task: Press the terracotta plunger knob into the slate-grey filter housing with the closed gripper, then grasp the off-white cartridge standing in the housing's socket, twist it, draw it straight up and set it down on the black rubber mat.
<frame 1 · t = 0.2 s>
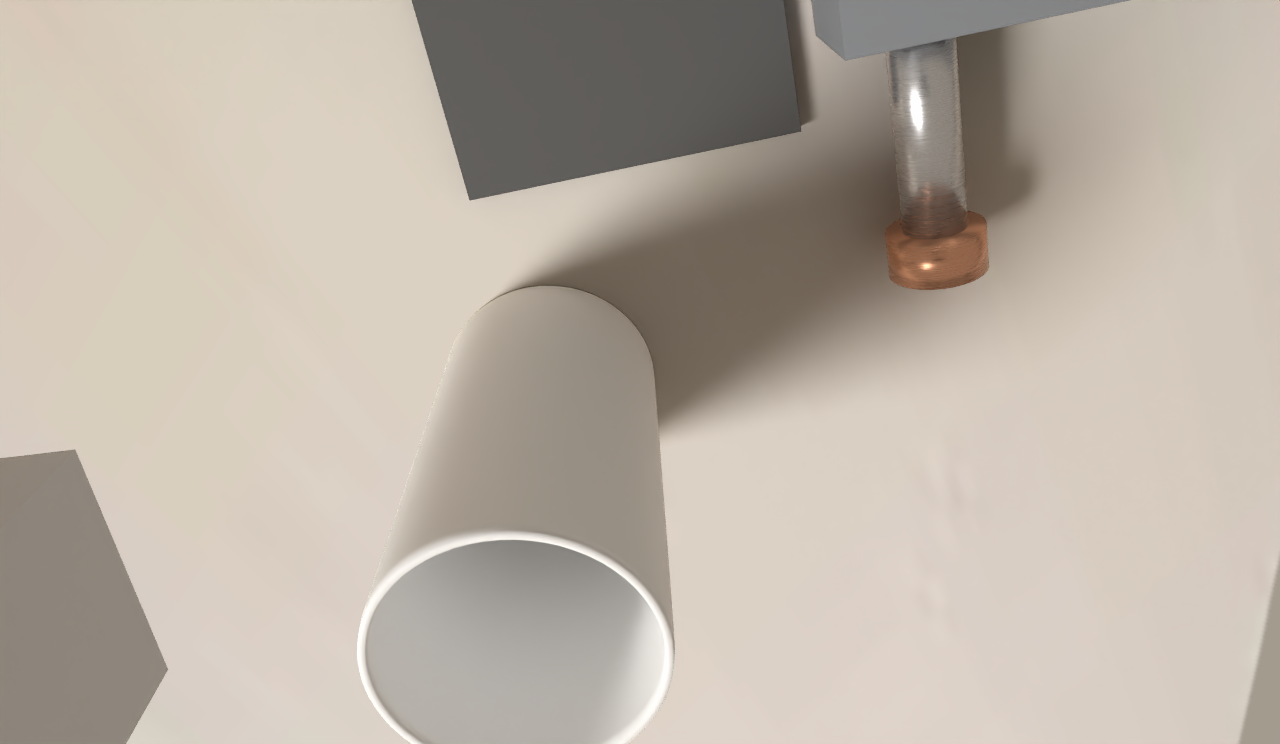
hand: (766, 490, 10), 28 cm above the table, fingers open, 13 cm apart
plunger: (926, 125, 34), point 2 cm above the table, slide at 0.0 cm
cup: (551, 379, 41), on the table
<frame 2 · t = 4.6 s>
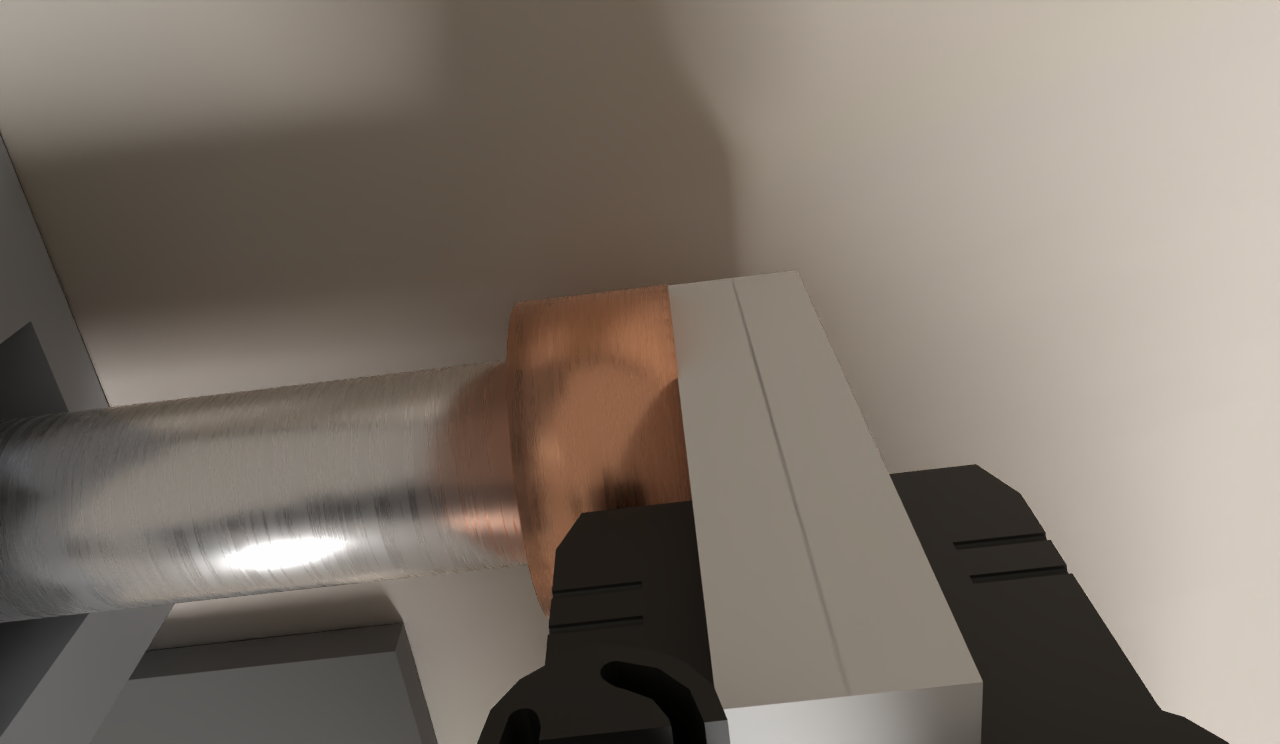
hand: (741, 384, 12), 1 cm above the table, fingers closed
plunger: (212, 496, 11), point 2 cm above the table, slide at 1.0 cm, touching gripper
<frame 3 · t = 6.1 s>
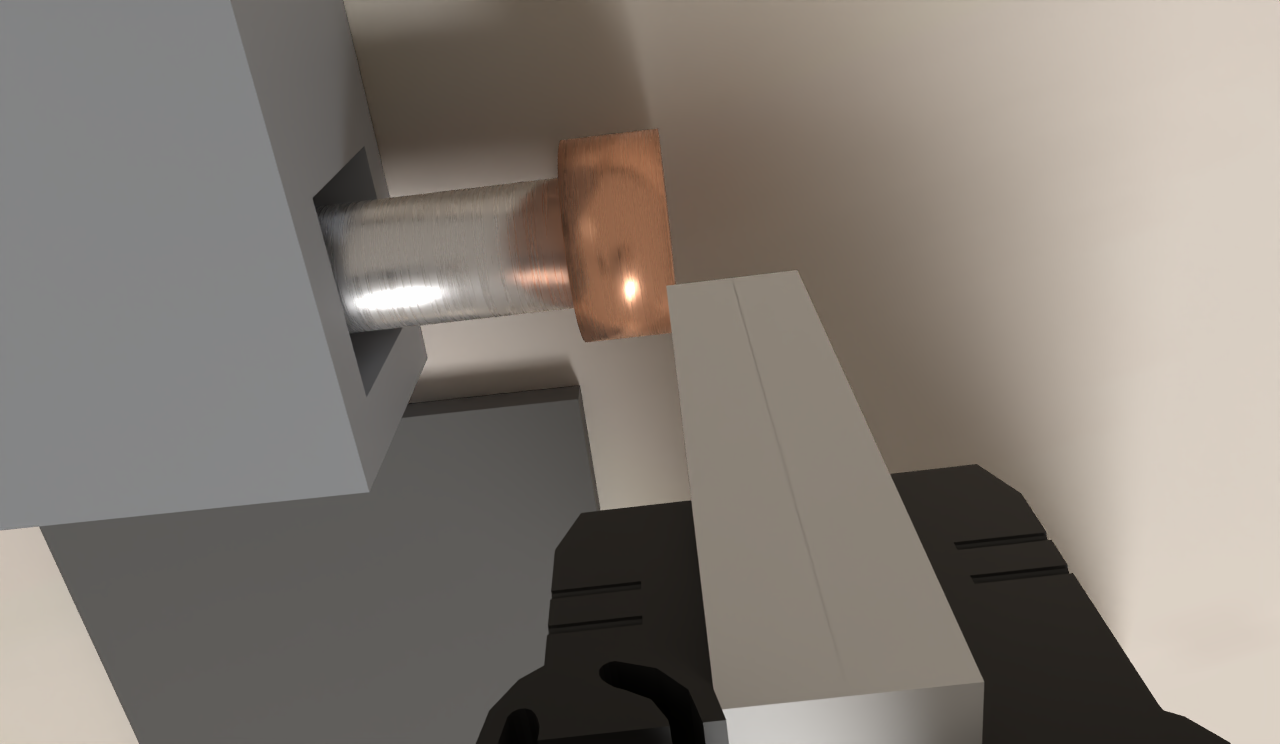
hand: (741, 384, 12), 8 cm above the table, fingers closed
mat: (365, 637, 24), on the table
plunger: (366, 266, 17), point 2 cm above the table, slide at 3.2 cm
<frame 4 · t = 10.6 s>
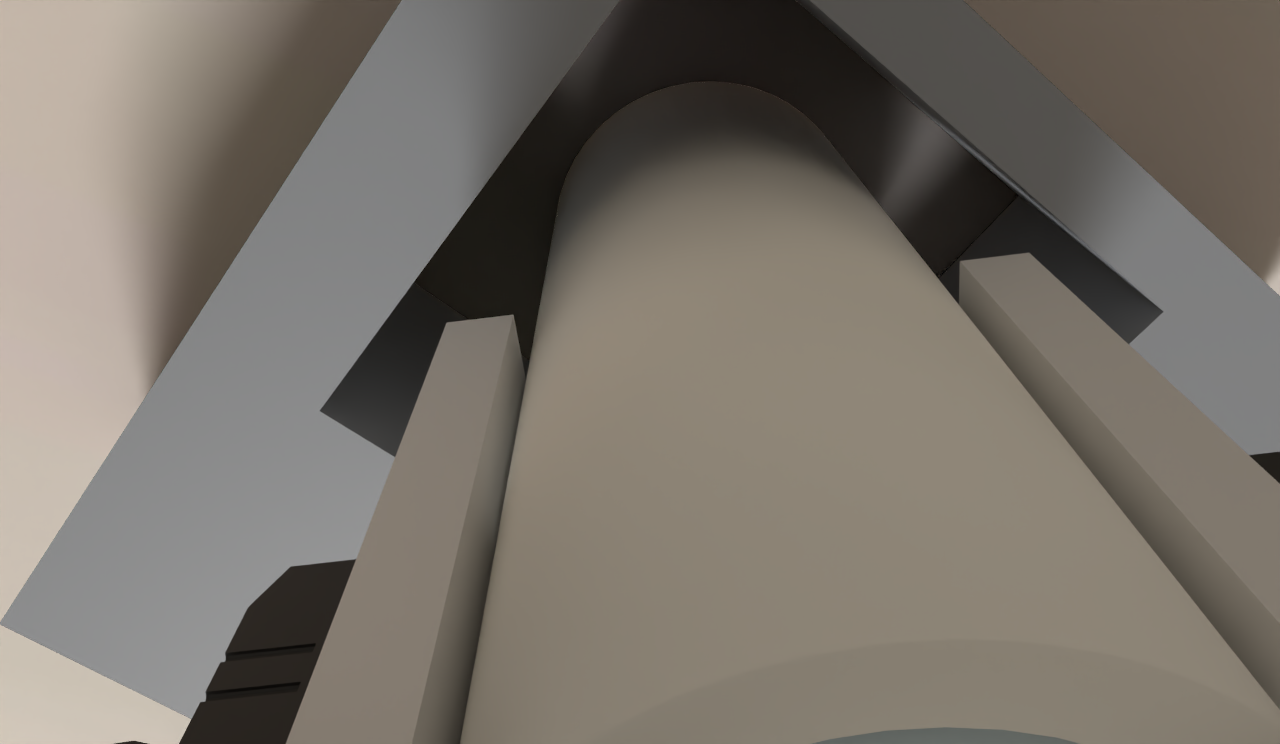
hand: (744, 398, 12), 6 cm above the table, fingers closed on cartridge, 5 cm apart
housing: (687, 380, 18), on the table
cartridge: (705, 233, 17), resting in housing, touching gripper
when the fingers open (7 cm above the table, at t = 18.3 s): cartridge stays where it is, resting on mat.
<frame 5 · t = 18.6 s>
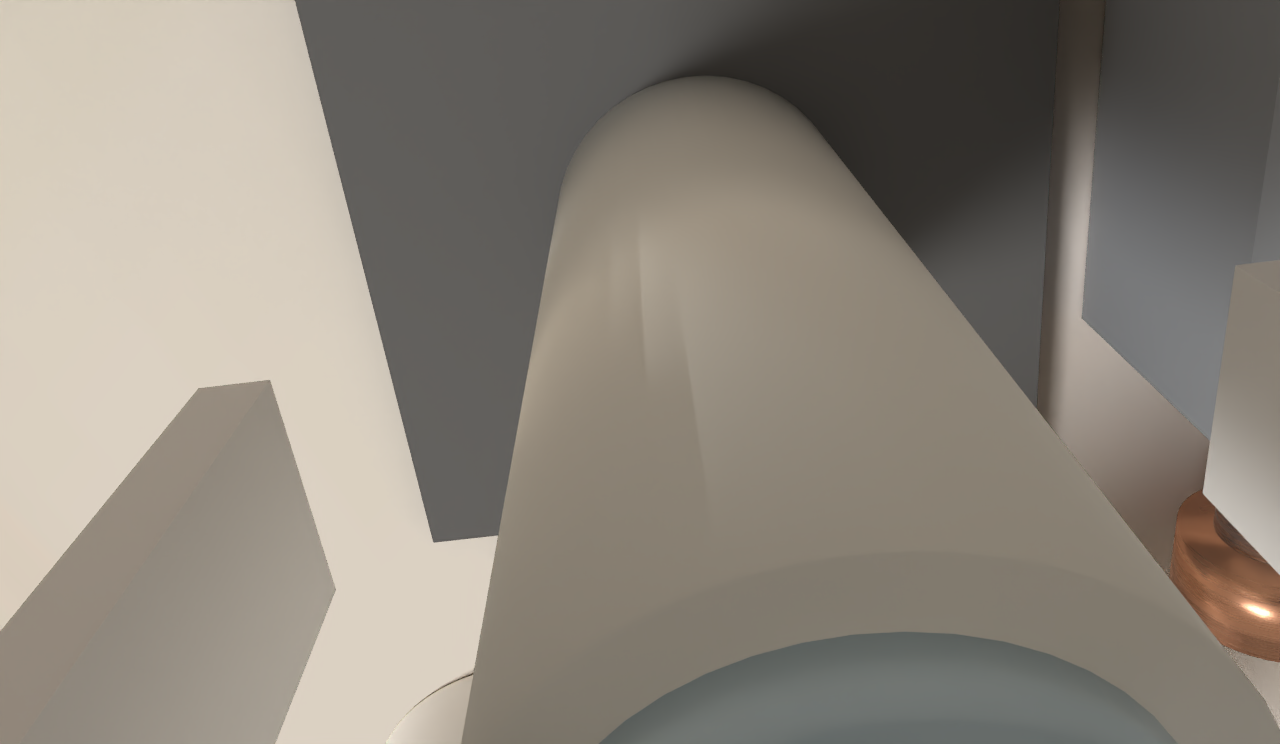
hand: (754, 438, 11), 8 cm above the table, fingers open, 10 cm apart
mat: (699, 211, 18), on the table
cartridge: (701, 223, 18), point 1 cm above the table, touching mat
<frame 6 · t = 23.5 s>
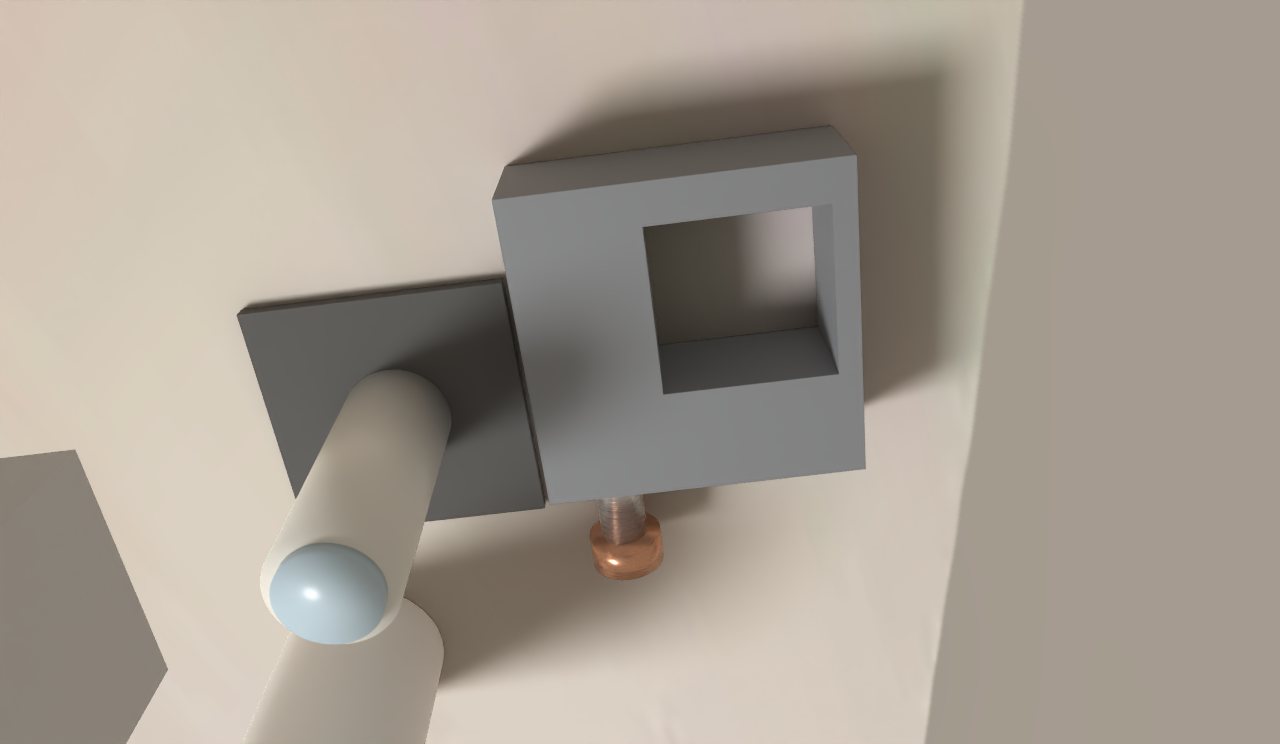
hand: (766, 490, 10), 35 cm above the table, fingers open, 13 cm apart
housing: (684, 298, 46), on the table
mat: (400, 410, 49), on the table
plunger: (614, 467, 47), point 2 cm above the table, slide at 3.2 cm
cup: (368, 645, 55), on the table
cartridge: (398, 417, 48), point 1 cm above the table, touching mat
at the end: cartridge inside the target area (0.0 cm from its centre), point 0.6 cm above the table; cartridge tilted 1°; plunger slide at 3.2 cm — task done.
